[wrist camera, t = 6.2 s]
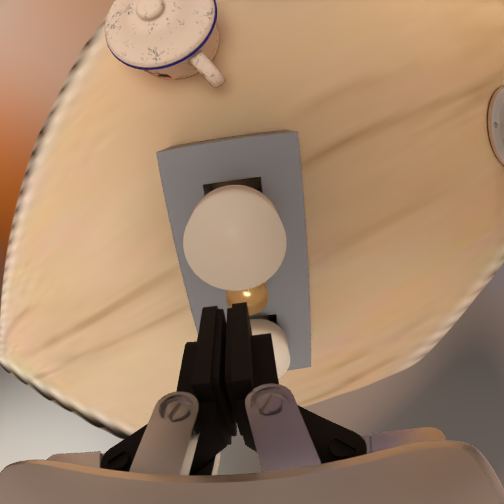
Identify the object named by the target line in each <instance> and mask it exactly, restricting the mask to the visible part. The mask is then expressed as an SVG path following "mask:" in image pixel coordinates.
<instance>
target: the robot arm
mask: <svg viewBox="0 0 504 504" xmlns="http://www.w3.org/2000/svg"><path fill="white" fill-rule="evenodd" d="M488 130H489V137H490V141H491V145H492V148H493V151H494V153H495V155H496V157H497V158H498V160H499V161H500V163H501V164H503V165H504V86H502V87H500V88H499V89H497V90H496V92H495V93H494V95H493V97H492V99H491V101H490V106H489V111H488ZM237 425H238V428H239V432H240V434H241V435H243V438H244V441H245V445H247V446H248V447H249V448H251V449H252V450H255V451H256V452H257V454H258V457H259V461H260V465H261V469H262V472H261V473H249V474H235V475H217V472H218V467H219V462H220V451H222V450H223V449H224V448H225V447H226V446H227V445H229V444H231V436H236V435H237ZM0 504H504V489H503V486H502V484H501V482H500V481H499V479H498V477H497V475H496V474H495V472H494V470H493V468H492V467H491V465H490V464H489V462H488V461H487V460H486V458H485V457H484V456H483V455H482V454H481V453H480V451H478V450H477V449H476V448H475V447H473V446H472V445H470V444H467V443H463V442H458V441H446V438H445V436H444V434H443V433H442V432H441V431H440V430H438V429H436V428H433V427H423V428H416V429H408V430H399V431H388V432H378V433H371V435H370V436H360V435H358V434H357V433H355V432H353V431H351V430H349V429H346V428H344V427H342V426H340V425H337V424H335V423H333V422H331V421H329V420H326V419H325V418H322V417H320V416H318V415H316V414H314V413H312V412H310V411H308V410H306V409H304V408H302V407H300V406H298V405H297V403H296V401H295V398H294V396H293V394H292V393H291V391H290V390H289V389H288V388H286V387H285V386H282V385H279V382H278V375H277V369H276V362H275V356H274V349H273V342H272V336H271V333H267V334H259V335H252V329H251V324H250V318H249V312H248V306H247V302H242V303H234V304H232V308H227V323H226V318H225V314H224V310H223V309H218V306H210V307H203V308H202V314H201V320H200V326H199V333H198V339H197V342H187V343H186V345H185V349H184V354H183V359H182V364H181V370H180V375H179V381H178V386H177V392H173V393H169V394H167V395H165V396H163V397H162V398H161V399H160V400H159V401H158V402H157V404H156V406H155V408H154V410H153V413H152V415H151V418H150V420H149V422H148V424H147V425H145V426H144V427H142V428H141V429H139V430H138V431H136V432H135V433H133V434H132V435H130V436H129V437H127V438H126V439H124V440H123V441H121V442H120V443H118V444H117V445H115V446H114V447H112V448H110V449H109V450H108V451H107V452H106V453H105V454H102V453H101V452H100V451H98V452H85V453H67V454H56V455H52V456H51V457H49V458H48V459H47V460H26V461H19V462H16V463H12V464H10V465H8V466H6V467H5V468H4V469H3V470H2V471H1V472H0Z"/></svg>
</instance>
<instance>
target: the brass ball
mask: <svg viewBox="0 0 504 504" xmlns="http://www.w3.org/2000/svg"><path fill="white" fill-rule="evenodd" d="M226 301H227V304H228V306H229V308H232V304H234V303H242V302H247V306H248V312H249V316H250V315H255V314H257V313H259V312H261V311H262V310H263V309H264V308H265V307H266V305H267V303H268V291H267V285H266V282H264V283H262V284H260V285H258V286H256V287H254V288H250V289H246V290H240V291H230V290H227V294H226Z"/></svg>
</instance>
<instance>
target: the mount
mask: <svg viewBox="0 0 504 504" xmlns="http://www.w3.org/2000/svg"><path fill="white" fill-rule="evenodd" d="M156 153H157V159H158V164H159V170H160V175H161V181H162V186H163V191H164V196H165V201H166V206H167V211H168V215H169V220H170V225H171V229H172V234H173V238H174V243H175V247H176V251H177V256H178V260H179V264H180V268H181V272H182V276H183V280H184V284H185V288H186V292H187V296H188V300H189V304H190V307H191V311H192V315H193V318H194V322H195V326H196V329H197V333H199V326H200V320H201V314H202V308H203V307H210V306H218V309H223V310H224V314H225V318H226V323H227V308H229V306H228V304H227V301H226V294H227V290H223V289H220V288H216V287H214V286H211V285H210V284H208V283H206V282H204V281H203V280H202V279H200V278H199V277H198V276H197V275H196V274H195V273H194V271H193V270H192V269H191V267H190V266H189V264H188V262H187V260H186V257H185V253H184V248H183V238H184V232H185V228H186V226H187V223H188V221H189V219H190V217H191V215H192V213H193V211H194V209H195V207H196V205H197V204H198V202H199V201H200V200H201V199H202V198H203V197H204V196H205V195H206V194H208V193H209V192H211V191H212V189H211V183H218V182H224V181H231V180H239V179H246V178H254V177H258V180H259V188H260V192H261V193H263V194H264V195H265V196H266V197H267V198H268V199H269V200H270V201H271V202H272V203H273V205H274V206H275V208H276V210H277V212H278V215H279V217H280V219H281V222H282V224H283V226H284V230H285V233H286V243H287V246H286V252H285V256H284V259H283V261H282V264H281V265H280V267H279V269H278V270H277V271H276V272H275V274H274V275H273V276H272V277H271V278H269V279H268V280H267V281H266V285H267V291H268V303H267V305H266V307H265V308H264V309H263V310H262V311H261V312H259V313H257V314H255V315H250V316H249V318H250V317H258V316H266V315H273V314H274V318H275V319H272V320H270V321H271V322H273V323H275V324H277V325H278V326H279V327H280V328H281V329H282V330H283V331H284V333H285V336H286V340H287V344H288V349H289V354H290V365H289V368H288V370H293V369H300V368H306V367H311V329H310V297H309V273H308V254H307V237H306V222H305V208H304V195H303V183H302V172H301V161H300V151H299V141H298V132H295V131H289V130H284V131H274V132H264V133H256V134H247V135H240V136H232V137H225V138H219V139H212V140H206V141H200V142H194V143H188V144H183V145H177V146H172V147H169V148H166V149H164V150H161V151H159V152H156Z"/></svg>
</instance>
